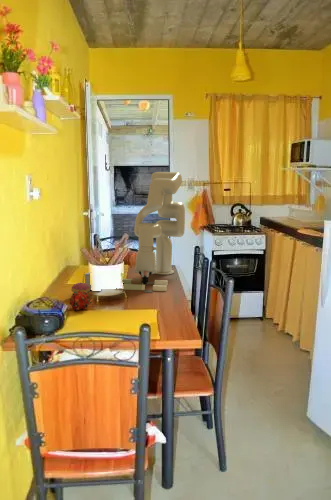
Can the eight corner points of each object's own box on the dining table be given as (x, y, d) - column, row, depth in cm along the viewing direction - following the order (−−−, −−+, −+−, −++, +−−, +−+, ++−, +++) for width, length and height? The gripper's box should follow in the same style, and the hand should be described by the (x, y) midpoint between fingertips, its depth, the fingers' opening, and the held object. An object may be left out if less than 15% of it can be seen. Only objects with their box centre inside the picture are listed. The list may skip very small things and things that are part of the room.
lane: (120, 283, 224) (120, 278, 224) (167, 285, 223) (167, 280, 223) (116, 289, 212) (116, 284, 212) (166, 291, 211) (166, 286, 211)
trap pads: (147, 282, 228) (147, 281, 228) (155, 282, 228) (155, 282, 228) (143, 292, 207) (143, 291, 207) (151, 292, 207) (151, 292, 207)
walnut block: (132, 285, 221) (132, 278, 220) (142, 286, 220) (142, 278, 220) (131, 287, 216) (131, 280, 215) (140, 288, 215) (140, 280, 215)
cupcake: (83, 294, 201) (83, 270, 199) (93, 298, 195) (93, 273, 193) (67, 297, 195) (67, 272, 193) (78, 301, 189) (77, 275, 187)
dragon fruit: (87, 308, 185) (77, 320, 174) (72, 296, 185) (60, 308, 174) (97, 294, 182) (87, 306, 171) (82, 283, 182) (70, 294, 171)
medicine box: (102, 289, 211) (102, 272, 209) (100, 292, 206) (100, 274, 205) (87, 289, 212) (87, 272, 210) (84, 291, 207) (84, 274, 206)
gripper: (160, 248, 218) (160, 282, 221) (132, 247, 218) (131, 281, 221) (160, 250, 210) (159, 286, 213) (130, 249, 211) (129, 285, 214)
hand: (145, 284), depth 217 cm, fingers closed
